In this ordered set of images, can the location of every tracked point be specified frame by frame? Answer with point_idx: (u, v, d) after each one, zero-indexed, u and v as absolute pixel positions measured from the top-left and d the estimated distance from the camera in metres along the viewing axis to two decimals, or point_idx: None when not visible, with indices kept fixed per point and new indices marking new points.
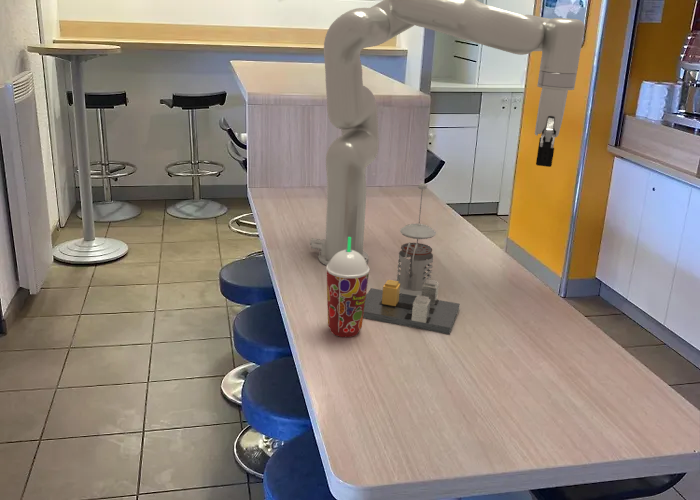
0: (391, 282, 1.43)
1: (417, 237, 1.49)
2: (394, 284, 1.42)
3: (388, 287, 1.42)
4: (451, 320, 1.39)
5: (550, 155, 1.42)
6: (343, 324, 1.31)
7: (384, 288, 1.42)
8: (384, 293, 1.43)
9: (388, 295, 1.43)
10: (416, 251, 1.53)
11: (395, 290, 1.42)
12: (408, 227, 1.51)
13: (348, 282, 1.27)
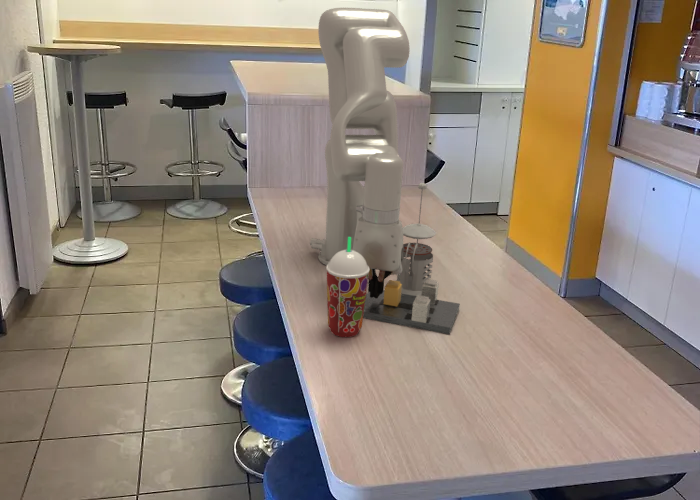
0: (393, 282, 1.43)
1: (417, 237, 1.49)
2: (396, 284, 1.42)
3: (390, 287, 1.42)
4: (451, 320, 1.39)
5: None
6: (343, 324, 1.31)
7: (386, 288, 1.42)
8: (386, 293, 1.43)
9: (390, 295, 1.43)
10: (416, 251, 1.53)
11: (397, 290, 1.42)
12: (408, 227, 1.51)
13: (348, 282, 1.27)
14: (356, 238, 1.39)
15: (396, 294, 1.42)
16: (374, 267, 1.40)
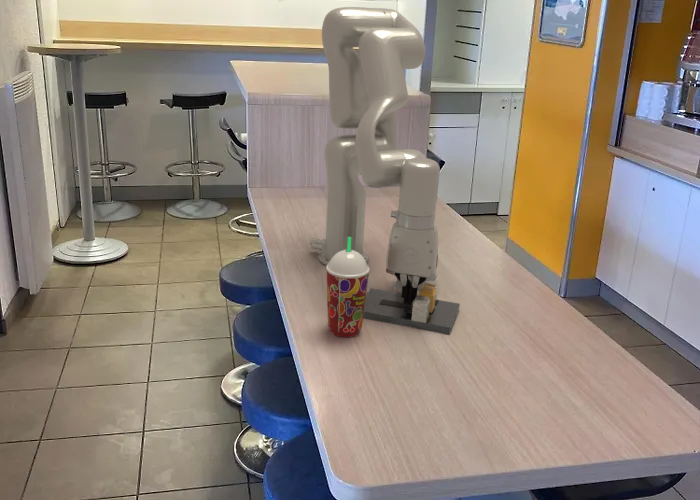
0: (427, 288, 1.41)
1: None
2: (430, 290, 1.40)
3: (424, 293, 1.40)
4: (451, 320, 1.39)
5: None
6: (343, 324, 1.31)
7: (420, 294, 1.40)
8: None
9: None
10: None
11: (432, 296, 1.40)
12: None
13: (348, 282, 1.27)
14: (390, 244, 1.38)
15: (431, 300, 1.40)
16: (409, 273, 1.38)
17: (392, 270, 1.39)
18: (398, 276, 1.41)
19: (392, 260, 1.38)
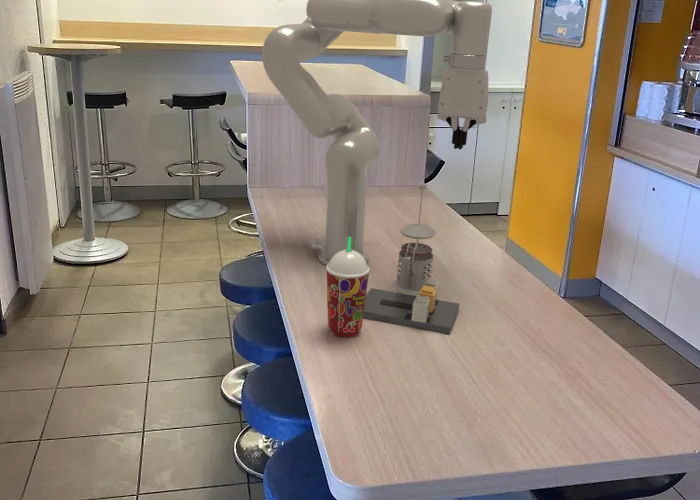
0: (427, 288, 1.41)
1: (417, 237, 1.49)
2: (430, 290, 1.40)
3: (424, 293, 1.40)
4: (451, 320, 1.39)
5: None
6: (343, 324, 1.31)
7: (420, 294, 1.40)
8: None
9: None
10: (416, 251, 1.53)
11: (432, 296, 1.40)
12: (408, 227, 1.51)
13: (348, 282, 1.27)
14: (443, 87, 1.45)
15: (431, 300, 1.40)
16: (460, 115, 1.45)
17: (444, 113, 1.46)
18: (449, 121, 1.48)
19: (444, 103, 1.45)
